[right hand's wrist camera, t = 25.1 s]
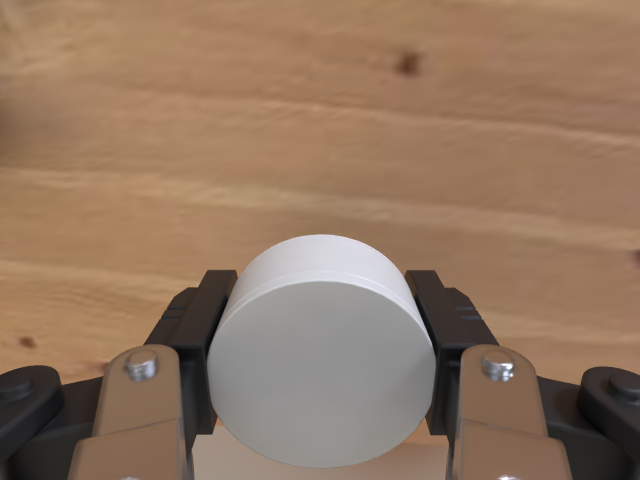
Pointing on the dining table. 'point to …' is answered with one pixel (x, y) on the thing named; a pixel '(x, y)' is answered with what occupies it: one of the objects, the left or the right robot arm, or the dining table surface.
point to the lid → (321, 355)
